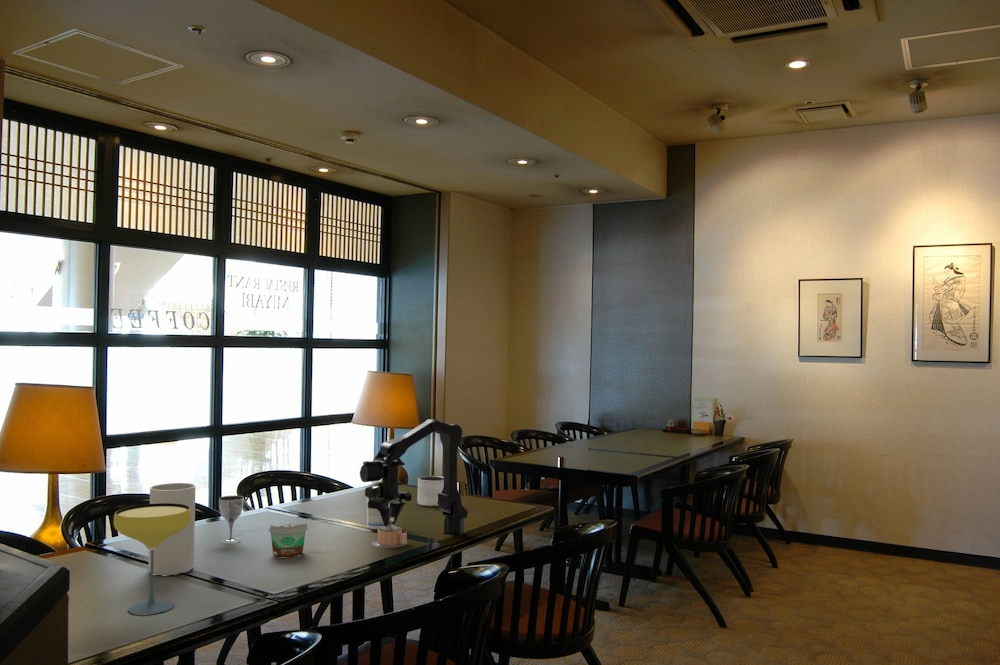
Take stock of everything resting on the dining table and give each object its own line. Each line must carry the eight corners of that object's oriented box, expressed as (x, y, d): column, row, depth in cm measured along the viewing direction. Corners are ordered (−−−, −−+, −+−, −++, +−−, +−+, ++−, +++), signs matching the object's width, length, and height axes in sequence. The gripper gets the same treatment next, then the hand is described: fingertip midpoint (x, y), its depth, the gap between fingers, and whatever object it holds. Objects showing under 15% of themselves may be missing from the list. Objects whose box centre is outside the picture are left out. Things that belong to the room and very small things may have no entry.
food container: (272, 560, 245) (272, 528, 245) (268, 556, 250) (268, 524, 251) (311, 556, 251) (311, 525, 251) (306, 551, 256) (307, 521, 256)
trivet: (413, 542, 269) (413, 541, 269) (394, 551, 258) (394, 549, 258) (384, 538, 274) (384, 537, 274) (364, 546, 263) (364, 544, 263)
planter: (445, 507, 329) (445, 480, 329) (415, 507, 329) (416, 480, 329) (447, 501, 341) (448, 475, 342) (419, 501, 342) (419, 475, 342)
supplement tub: (396, 529, 289) (397, 489, 290) (373, 532, 284) (373, 491, 284) (385, 523, 297) (386, 485, 298) (362, 526, 292) (362, 487, 292)
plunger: (400, 539, 267) (400, 516, 268) (391, 543, 263) (392, 519, 263) (387, 537, 270) (387, 515, 270) (378, 541, 265) (379, 518, 265)
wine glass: (247, 540, 270) (248, 496, 270) (231, 545, 263) (231, 500, 263) (230, 537, 273) (231, 494, 273) (213, 542, 266) (213, 498, 266)
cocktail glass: (119, 625, 187) (121, 521, 188) (105, 605, 202) (107, 507, 202) (197, 611, 198) (199, 512, 198) (179, 592, 213) (181, 500, 213)
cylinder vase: (165, 579, 224) (167, 492, 225) (139, 572, 231) (141, 487, 231) (202, 569, 235) (204, 485, 235) (176, 562, 242) (178, 481, 242)
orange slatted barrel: (410, 542, 267) (411, 527, 267) (397, 547, 260) (398, 532, 260) (386, 539, 272) (386, 524, 272) (372, 544, 264) (373, 529, 264)
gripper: (385, 473, 278) (385, 517, 278) (354, 481, 262) (353, 528, 261) (412, 476, 274) (412, 520, 273) (382, 484, 257) (381, 532, 257)
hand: (389, 525), depth 266 cm, fingers open, 4 cm apart
